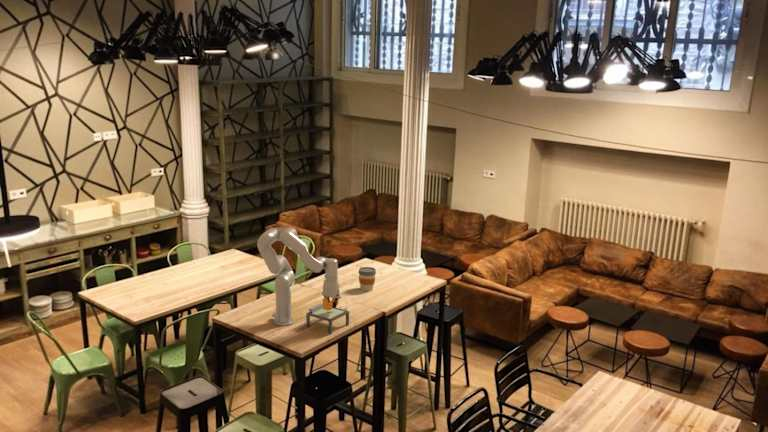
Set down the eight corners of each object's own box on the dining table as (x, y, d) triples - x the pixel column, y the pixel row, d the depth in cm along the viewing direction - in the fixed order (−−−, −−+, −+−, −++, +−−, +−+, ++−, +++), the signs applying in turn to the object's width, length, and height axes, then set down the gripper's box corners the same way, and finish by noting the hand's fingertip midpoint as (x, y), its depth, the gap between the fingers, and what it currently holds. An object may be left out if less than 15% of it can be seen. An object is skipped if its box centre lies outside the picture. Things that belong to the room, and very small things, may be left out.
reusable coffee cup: (378, 290, 495) (379, 270, 491) (364, 293, 488) (364, 273, 484) (369, 285, 505) (369, 265, 501) (354, 288, 498) (355, 268, 494)
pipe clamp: (328, 310, 417) (328, 300, 415) (322, 309, 419) (322, 299, 418) (340, 305, 426) (340, 295, 425) (335, 303, 429) (335, 293, 427)
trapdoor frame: (306, 327, 424) (306, 313, 422) (325, 317, 439) (325, 304, 437) (330, 334, 414) (330, 320, 412) (349, 324, 429) (349, 311, 427)
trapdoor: (307, 313, 424) (307, 309, 424) (322, 306, 436) (322, 302, 436) (330, 320, 415) (330, 315, 414) (344, 313, 427) (344, 308, 426)
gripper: (316, 277, 420) (316, 305, 424) (338, 282, 411) (338, 311, 415) (324, 274, 426) (324, 302, 430) (346, 279, 417) (345, 307, 421)
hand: (331, 306), depth 422 cm, fingers closed on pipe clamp, 4 cm apart
